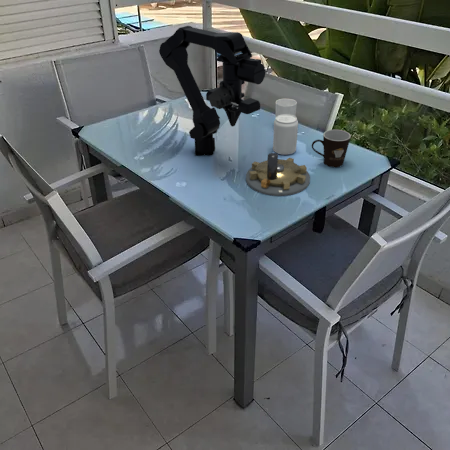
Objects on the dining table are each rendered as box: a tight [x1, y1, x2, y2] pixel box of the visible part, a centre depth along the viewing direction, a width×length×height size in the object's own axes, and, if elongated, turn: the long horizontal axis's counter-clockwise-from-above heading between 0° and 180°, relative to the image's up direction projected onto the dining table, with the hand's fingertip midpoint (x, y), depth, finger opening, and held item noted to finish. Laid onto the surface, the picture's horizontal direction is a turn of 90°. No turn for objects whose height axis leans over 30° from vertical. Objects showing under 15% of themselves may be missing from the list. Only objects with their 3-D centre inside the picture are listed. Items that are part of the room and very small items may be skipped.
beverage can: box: [272, 114, 299, 156], centre depth 164 cm, size 8×8×12 cm
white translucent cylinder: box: [275, 98, 298, 118], centre depth 180 cm, size 8×8×10 cm
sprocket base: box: [245, 164, 311, 197], centre depth 150 cm, size 20×20×1 cm
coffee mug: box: [311, 129, 352, 168], centre depth 156 cm, size 12×9×10 cm
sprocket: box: [249, 152, 308, 190], centre depth 147 cm, size 18×18×10 cm
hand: (232, 126), depth 153 cm, fingers closed
